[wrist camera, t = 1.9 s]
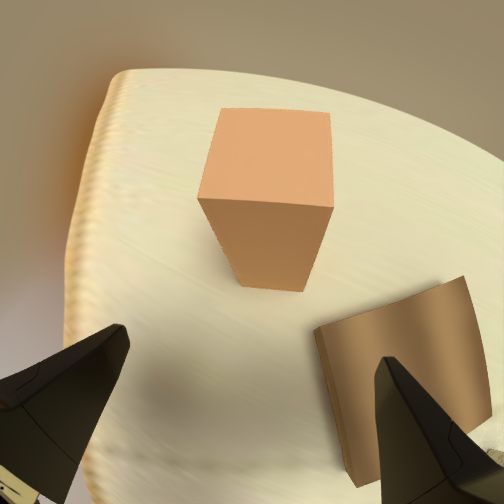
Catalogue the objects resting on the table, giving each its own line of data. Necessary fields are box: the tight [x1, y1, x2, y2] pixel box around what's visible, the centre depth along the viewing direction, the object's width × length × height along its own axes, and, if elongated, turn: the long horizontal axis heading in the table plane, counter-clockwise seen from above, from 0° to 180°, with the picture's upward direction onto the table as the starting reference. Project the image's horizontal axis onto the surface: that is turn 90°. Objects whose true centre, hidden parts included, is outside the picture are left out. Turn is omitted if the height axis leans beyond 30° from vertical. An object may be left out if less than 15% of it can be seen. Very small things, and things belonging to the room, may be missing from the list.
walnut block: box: [314, 275, 492, 488], centre depth 18 cm, size 13×13×4 cm
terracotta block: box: [197, 108, 334, 292], centre depth 18 cm, size 5×5×14 cm
